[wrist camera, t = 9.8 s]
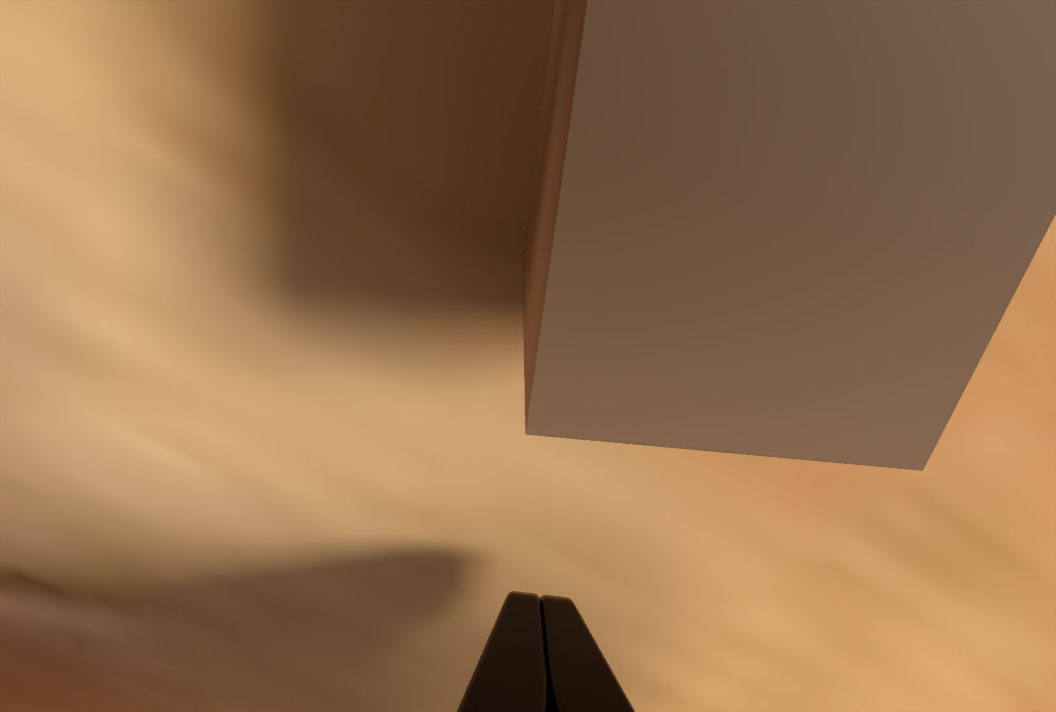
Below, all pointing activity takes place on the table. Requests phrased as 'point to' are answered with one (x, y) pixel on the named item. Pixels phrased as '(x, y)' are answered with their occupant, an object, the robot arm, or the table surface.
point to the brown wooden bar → (781, 219)
